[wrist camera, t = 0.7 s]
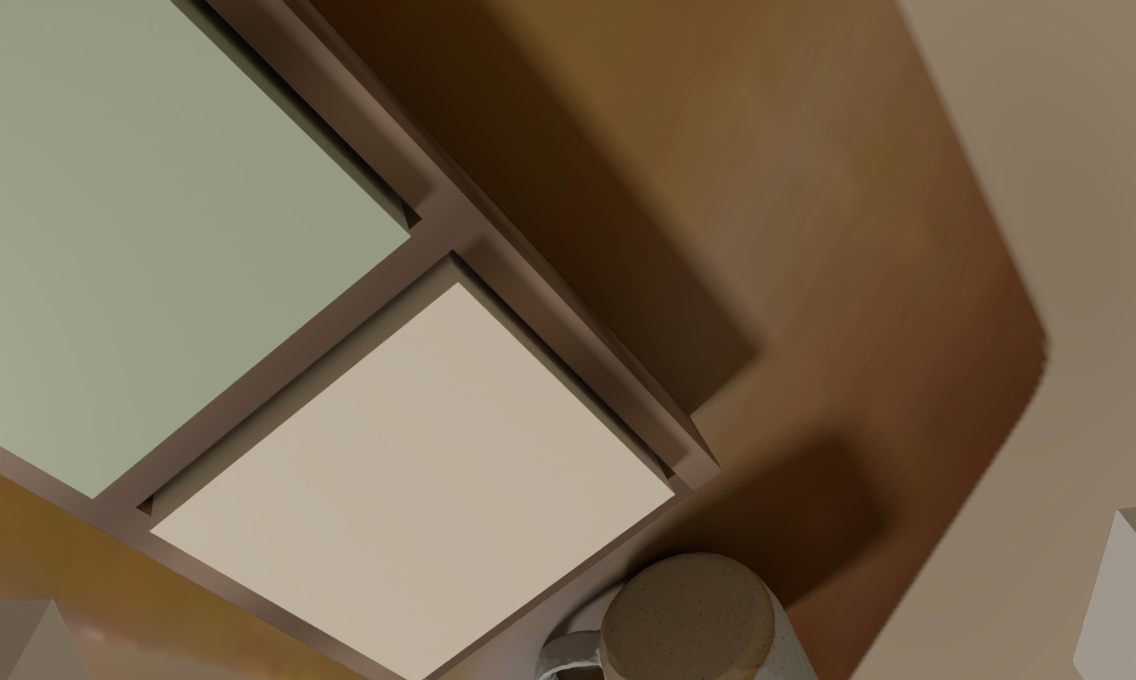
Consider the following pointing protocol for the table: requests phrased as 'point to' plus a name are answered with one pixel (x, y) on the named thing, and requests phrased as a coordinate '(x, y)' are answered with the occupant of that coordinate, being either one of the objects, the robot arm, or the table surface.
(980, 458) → the table surface
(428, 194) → the key pad frame
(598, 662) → the ceramic mug
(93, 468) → the sage key
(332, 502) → the cream key
